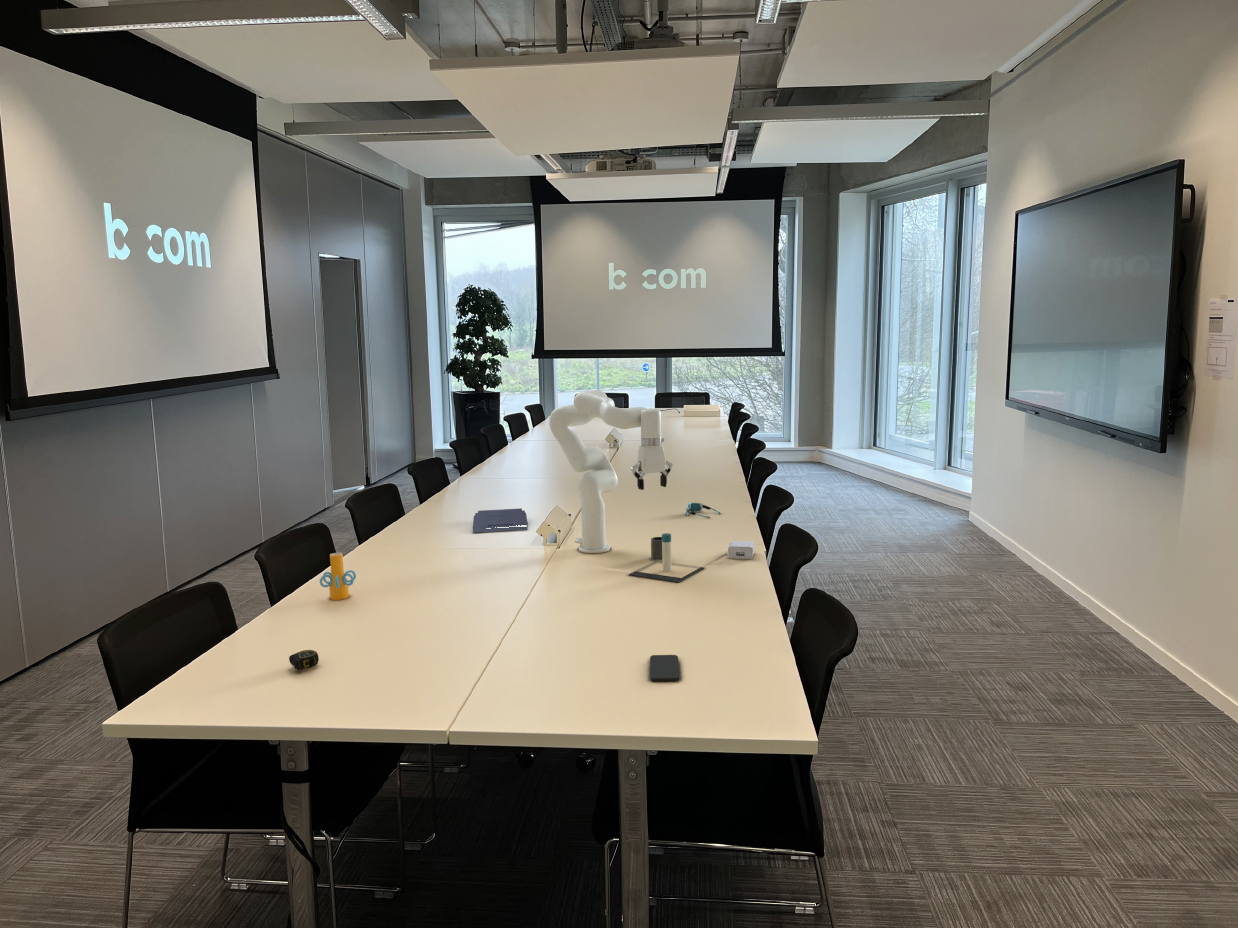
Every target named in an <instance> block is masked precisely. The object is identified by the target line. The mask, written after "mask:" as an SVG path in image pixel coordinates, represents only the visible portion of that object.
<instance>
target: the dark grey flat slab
mask: <svg viewBox="0 0 1238 928" xmlns="http://www.w3.org/2000/svg"><path fill="white" fill-rule="evenodd" d="M516 525H517V526H518V525H520V526H521V525H528V517H527V512H526V511H525V510H523V508H522V507H521V508H506V509H505V508H504V509H503V508H501V509H484V510H478V511H477V512H475V514H474V515H473V521H472V533H473V534H474V533H483V532H484V533H486V532H488V533H489V532H501V531H524V530H528V527H529V525H528V526H527V527H509V526H516ZM495 527H496V528H495ZM497 527H509V528H497ZM486 528H491V529H486Z"/></svg>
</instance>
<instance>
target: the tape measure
mask: <svg viewBox="0 0 1238 928" xmlns="http://www.w3.org/2000/svg"><path fill="white" fill-rule="evenodd" d="M319 657H320V656H319V653H318V652H317V651H316V650H314V649H304V650H300V651H298V652H296V653H293V654H291V655H289V656H288V659H289V660H288V662H289V663H290V665H291V666H292V667H294V669H295V670H297V671H298V672H300V671H302V670H306V669H307V670H308V669H311V668H314V667H316V666H317V665H318V664H319V661H320V658H319Z"/></svg>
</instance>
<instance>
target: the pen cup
mask: <svg viewBox="0 0 1238 928" xmlns="http://www.w3.org/2000/svg"><path fill="white" fill-rule="evenodd" d="M650 558H651V560H656V561H662V536H653V537H651V538H650Z"/></svg>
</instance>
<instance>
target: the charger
mask: <svg viewBox="0 0 1238 928" xmlns="http://www.w3.org/2000/svg"><path fill="white" fill-rule="evenodd" d="M754 553H755V542H754V541H751V540H731V541H730V542H729V545H728V548H727V557H728V558H729V559H733V560H734V559H735V560H736V559H737V560H751V559H753V558H754Z"/></svg>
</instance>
